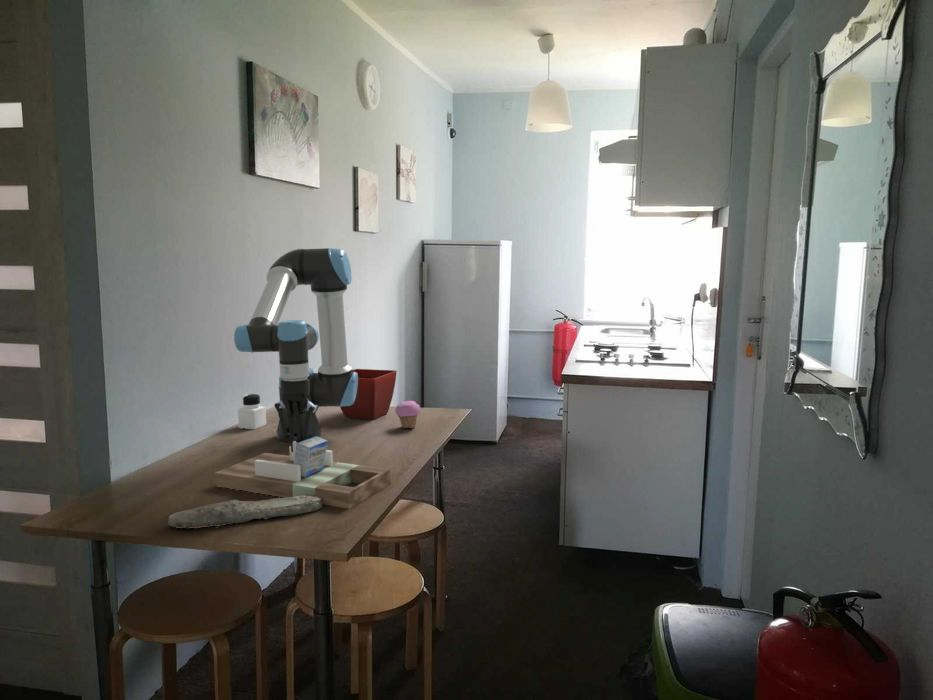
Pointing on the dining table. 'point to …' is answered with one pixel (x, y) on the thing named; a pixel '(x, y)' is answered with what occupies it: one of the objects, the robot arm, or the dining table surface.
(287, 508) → the elongated rock
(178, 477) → the dining table surface
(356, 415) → the plant pot
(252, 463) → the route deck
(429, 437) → the dining table surface
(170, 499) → the dining table surface
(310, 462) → the medicine box
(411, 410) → the cupcake
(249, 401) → the medicine bottle
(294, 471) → the channel walls
